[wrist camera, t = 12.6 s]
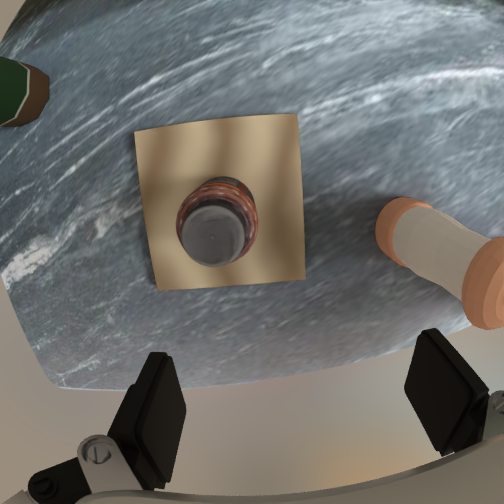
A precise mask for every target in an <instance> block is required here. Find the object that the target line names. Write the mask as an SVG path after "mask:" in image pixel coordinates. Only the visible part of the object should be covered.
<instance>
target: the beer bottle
mask: <svg viewBox="0 0 504 504" xmlns="http://www.w3.org/2000/svg"><path fill="white" fill-rule="evenodd" d="M48 100H49V76H47V75H46V74H44V73H43V72H42V71H40V70H39V69H37V68H35V67H33V66H31V65H28V64H24V63H21V62H18V61H14V60H11V59H8V58H4V57H0V126H6V127H14V126H22V125H24V124H27V123H29V122H31V121H33V120H35V119H37V118H38V117H39V115H40V114H41V112H42V110H43V108H44V106H45V105H46V103H47V101H48Z"/></svg>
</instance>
